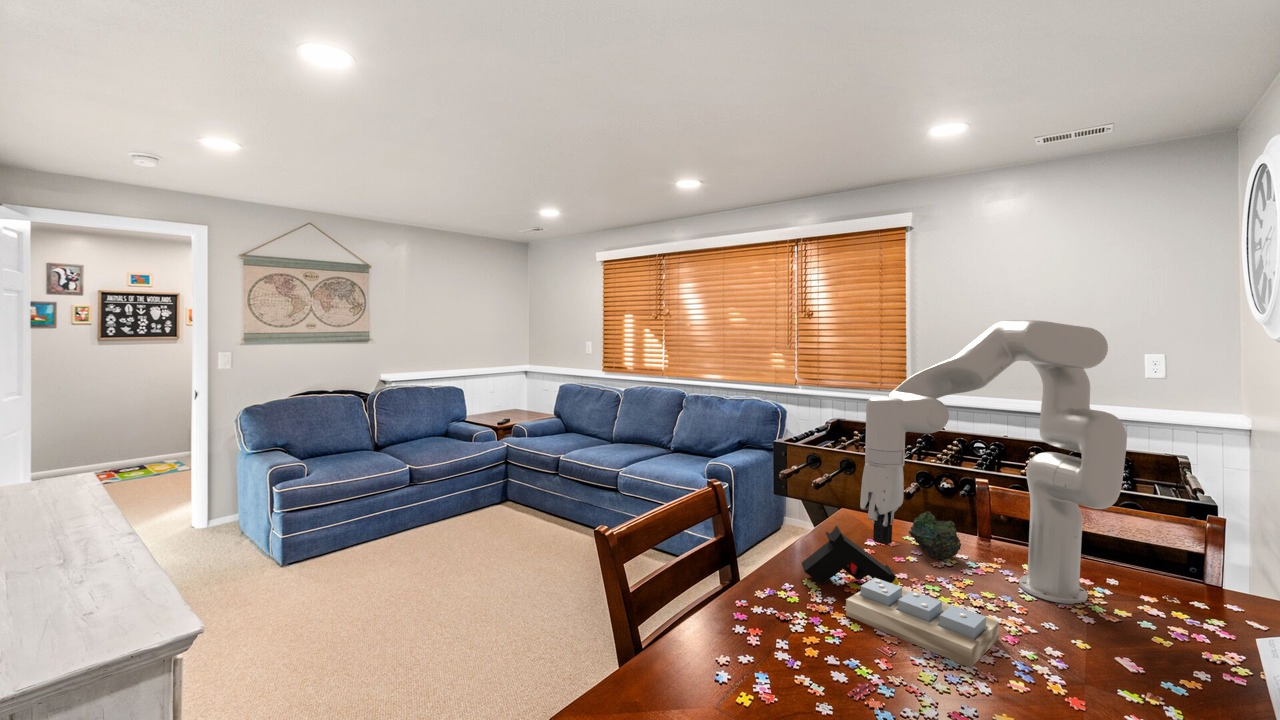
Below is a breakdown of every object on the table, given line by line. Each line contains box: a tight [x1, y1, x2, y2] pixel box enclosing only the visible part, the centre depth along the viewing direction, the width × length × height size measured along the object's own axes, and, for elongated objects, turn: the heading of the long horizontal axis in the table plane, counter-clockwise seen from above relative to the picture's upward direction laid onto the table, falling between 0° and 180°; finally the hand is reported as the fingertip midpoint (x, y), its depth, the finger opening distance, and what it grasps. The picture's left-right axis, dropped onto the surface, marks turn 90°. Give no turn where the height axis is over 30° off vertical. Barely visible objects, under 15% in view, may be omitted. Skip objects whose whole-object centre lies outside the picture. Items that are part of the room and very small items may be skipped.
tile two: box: [898, 590, 943, 623], centre depth 115 cm, size 6×6×3 cm
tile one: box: [940, 604, 987, 640], centre depth 109 cm, size 6×6×3 cm
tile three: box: [860, 578, 903, 607], centre depth 121 cm, size 6×6×3 cm
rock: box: [908, 510, 962, 561], centre depth 152 cm, size 14×11×10 cm
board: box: [845, 587, 1000, 669], centre depth 115 cm, size 14×24×4 cm, turn 40°
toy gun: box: [801, 525, 900, 586], centre depth 135 cm, size 5×18×12 cm
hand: (882, 542), depth 120 cm, fingers closed
